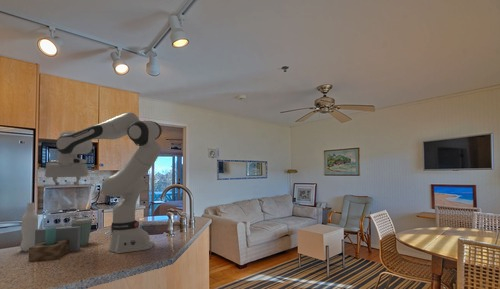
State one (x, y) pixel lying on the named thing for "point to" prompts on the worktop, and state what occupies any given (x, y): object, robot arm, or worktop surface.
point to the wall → (62, 236)
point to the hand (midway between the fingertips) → (66, 185)
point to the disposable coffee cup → (83, 228)
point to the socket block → (48, 250)
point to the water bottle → (29, 227)
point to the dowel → (50, 236)
